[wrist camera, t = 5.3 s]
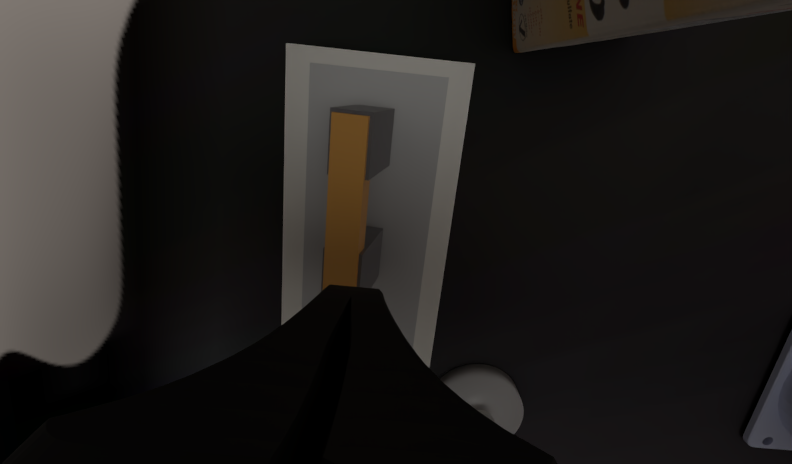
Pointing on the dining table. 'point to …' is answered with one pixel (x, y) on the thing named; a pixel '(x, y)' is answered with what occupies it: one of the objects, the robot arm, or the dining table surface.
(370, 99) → the tray
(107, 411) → the robot arm
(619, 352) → the dining table surface
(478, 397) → the grey stand
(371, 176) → the bar
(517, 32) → the supplement box
